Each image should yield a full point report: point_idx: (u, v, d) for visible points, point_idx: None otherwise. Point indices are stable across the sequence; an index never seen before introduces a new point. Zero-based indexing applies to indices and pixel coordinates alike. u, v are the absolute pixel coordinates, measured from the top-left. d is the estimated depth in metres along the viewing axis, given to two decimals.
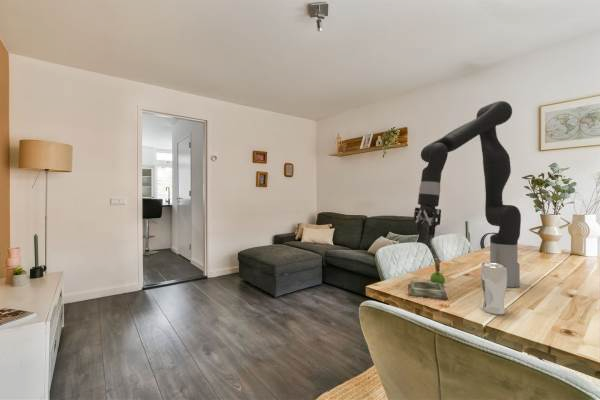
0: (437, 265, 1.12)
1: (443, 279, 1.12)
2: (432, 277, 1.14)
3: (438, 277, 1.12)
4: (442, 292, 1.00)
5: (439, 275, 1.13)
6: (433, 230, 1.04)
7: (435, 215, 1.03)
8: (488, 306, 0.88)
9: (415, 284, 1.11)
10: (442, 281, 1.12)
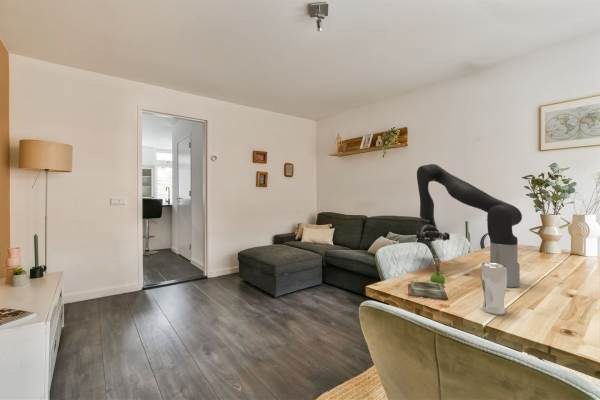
0: (437, 265, 1.12)
1: (443, 279, 1.12)
2: (432, 277, 1.14)
3: (438, 277, 1.12)
4: (442, 292, 1.00)
5: (439, 275, 1.13)
6: (421, 236, 1.28)
7: None
8: (488, 306, 0.88)
9: (415, 284, 1.11)
10: (442, 281, 1.12)
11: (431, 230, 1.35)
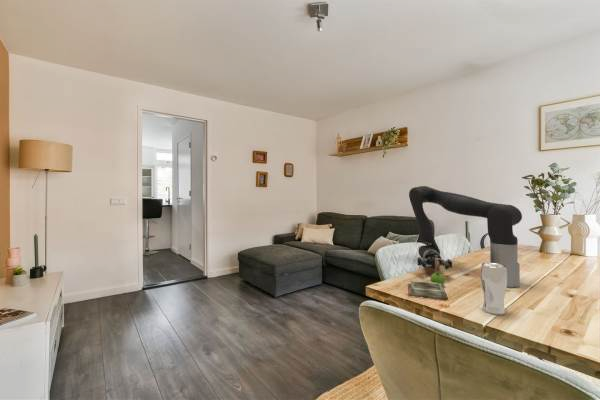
0: (437, 265, 1.12)
1: (443, 279, 1.12)
2: (432, 277, 1.14)
3: (438, 277, 1.12)
4: (442, 292, 1.00)
5: (439, 275, 1.13)
6: (422, 264, 1.24)
7: None
8: (488, 306, 0.88)
9: (415, 284, 1.11)
10: (442, 281, 1.12)
11: (433, 256, 1.31)
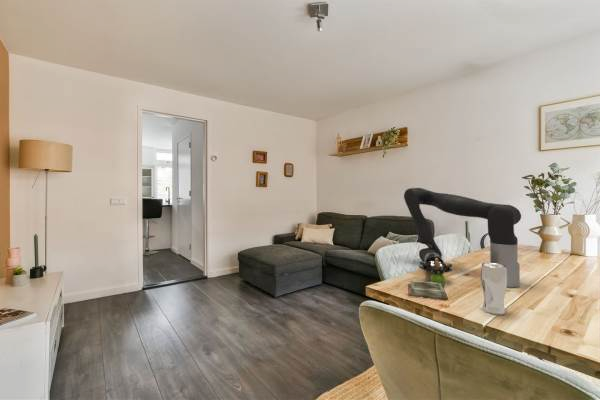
0: (437, 265, 1.12)
1: (443, 279, 1.12)
2: (432, 277, 1.14)
3: (438, 277, 1.12)
4: (442, 292, 1.00)
5: (439, 275, 1.13)
6: (431, 269, 1.15)
7: (422, 268, 1.20)
8: (488, 306, 0.88)
9: (415, 284, 1.11)
10: (442, 281, 1.12)
11: None
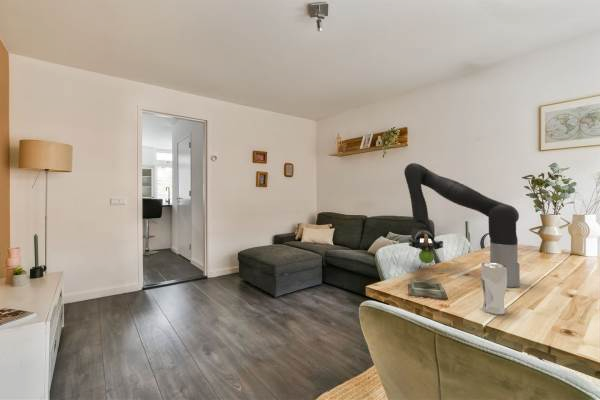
0: (426, 241, 1.05)
1: (432, 256, 1.05)
2: (420, 254, 1.07)
3: (427, 253, 1.05)
4: (442, 292, 1.00)
5: (428, 251, 1.06)
6: (420, 246, 1.08)
7: (411, 245, 1.14)
8: (488, 306, 0.88)
9: (415, 284, 1.11)
10: (431, 258, 1.05)
11: None
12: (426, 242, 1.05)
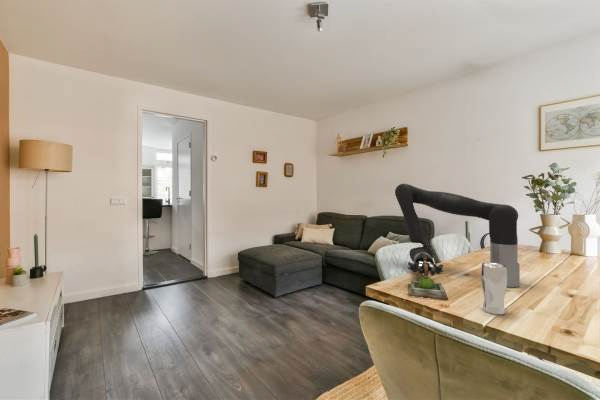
0: (425, 268, 1.04)
1: (432, 283, 1.04)
2: (420, 281, 1.05)
3: (426, 281, 1.04)
4: (442, 292, 1.00)
5: (427, 279, 1.04)
6: (418, 270, 1.06)
7: (410, 269, 1.12)
8: (488, 306, 0.88)
9: (415, 284, 1.11)
10: (431, 286, 1.03)
11: (425, 260, 1.15)
12: (426, 270, 1.04)
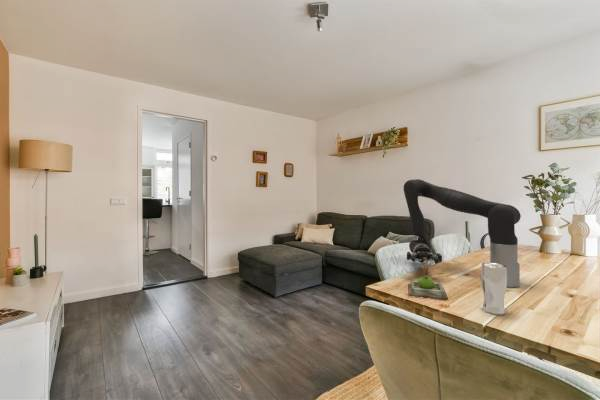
0: (425, 268, 1.04)
1: (432, 283, 1.04)
2: (420, 281, 1.05)
3: (426, 281, 1.04)
4: (442, 292, 1.00)
5: (427, 279, 1.04)
6: (411, 258, 1.20)
7: None
8: (488, 306, 0.88)
9: (415, 284, 1.11)
10: (431, 286, 1.03)
11: (423, 250, 1.27)
12: (426, 270, 1.04)
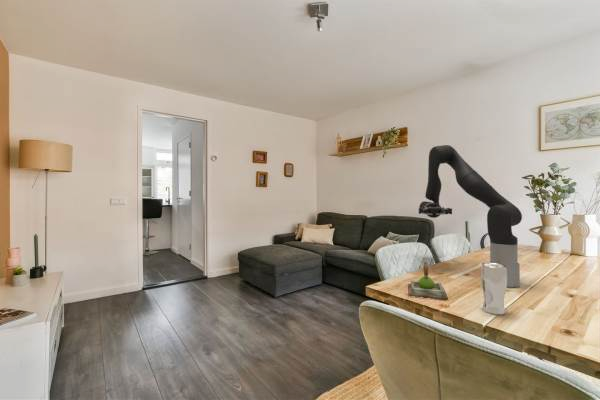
0: (425, 268, 1.04)
1: (432, 283, 1.04)
2: (420, 281, 1.05)
3: (426, 281, 1.04)
4: (442, 292, 1.00)
5: (427, 279, 1.04)
6: (423, 211, 1.29)
7: None
8: (488, 306, 0.88)
9: (415, 284, 1.11)
10: (431, 286, 1.03)
11: (434, 206, 1.36)
12: (426, 270, 1.04)
